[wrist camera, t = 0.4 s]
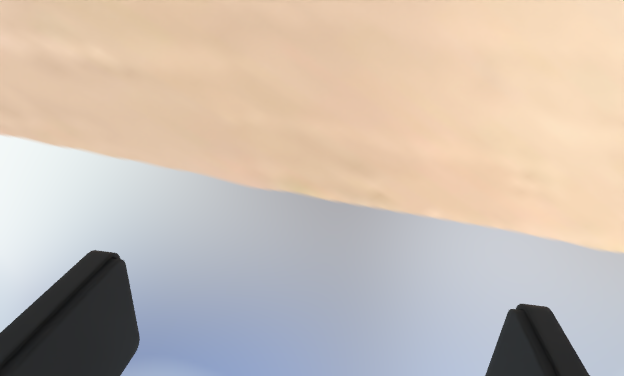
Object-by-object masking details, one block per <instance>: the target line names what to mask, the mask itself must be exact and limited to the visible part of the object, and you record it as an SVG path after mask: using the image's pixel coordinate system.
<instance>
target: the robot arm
mask: <svg viewBox="0 0 624 376" xmlns="http://www.w3.org/2000/svg"><path fill="white" fill-rule="evenodd" d="M138 345H139V332H138V326H137V321H136V316H135V311H134V305H133V300H132V295H131V290H130V284H129V279H128V275H127V269H126V265H125V262H124V261H123V260H121V259H120V257H119V255H118V254H117V253H112V252H104V251H96V250H94V251H91V252H89V253H88V254H87V255H86V256H85V257H83V258H82V259H81V260H80V261H79V262H78V263H77V264H76V265H75V266H73V267H72V268H71V269H70V270H69V271H68V272H67V273H66V274H65V275H64V276H63V277H62V278H60V279H59V280H58V281H57V282H56V283H55V284H54V285H53V286H51V287H50V288H49V289H48V290H47V291H46V292H45V293H44V294H43V295H42V296H40V297H39V298H38V299H37V300H36V301H35V302H34V303H33V304H32V305H31V306H29V307H28V309H26V310H25V311H24V312H23V313H22V314H21V315H20V316H18V317H17V318H16V319H15V320H14V321H13V322H12V323H11V324H10V325H9V326H7V327H6V328H5V329H4V330H3V331H2V332H1V333H0V376H120V375H121V374H122V372H123V371H124V369H125V368H126V366H127V365H128V363H129V361H130V360H131V358H132V357H133V355H134V354H135V352H136V350H137V348H138ZM485 376H590V375H589V374H588V373H587V371H586V369H585V367H584V366H583V364H582V362H581V360H580V359H579V357H578V355H577V354H576V352H575V350H574V349H573V347H572V345H571V344H570V342H569V340H568V338H567V337H566V335H565V333H564V331H563V330H562V328H561V326H560V325H559V323H558V321H557V320H556V318H555V316H554V314H553V313H552V311H551V310H550V309H549V308H548V307H544V306H536V305H528V304H520V305H518V306H517V308H516V309H510V310H509V312H508V314H507V317H506V319H505V322H504V325H503V328H502V330H501V333H500V336H499V339H498V342H497V345H496V347H495V350H494V353H493V356H492V358H491V361H490V364H489V367H488V370H487V373H486V375H485Z"/></svg>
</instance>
